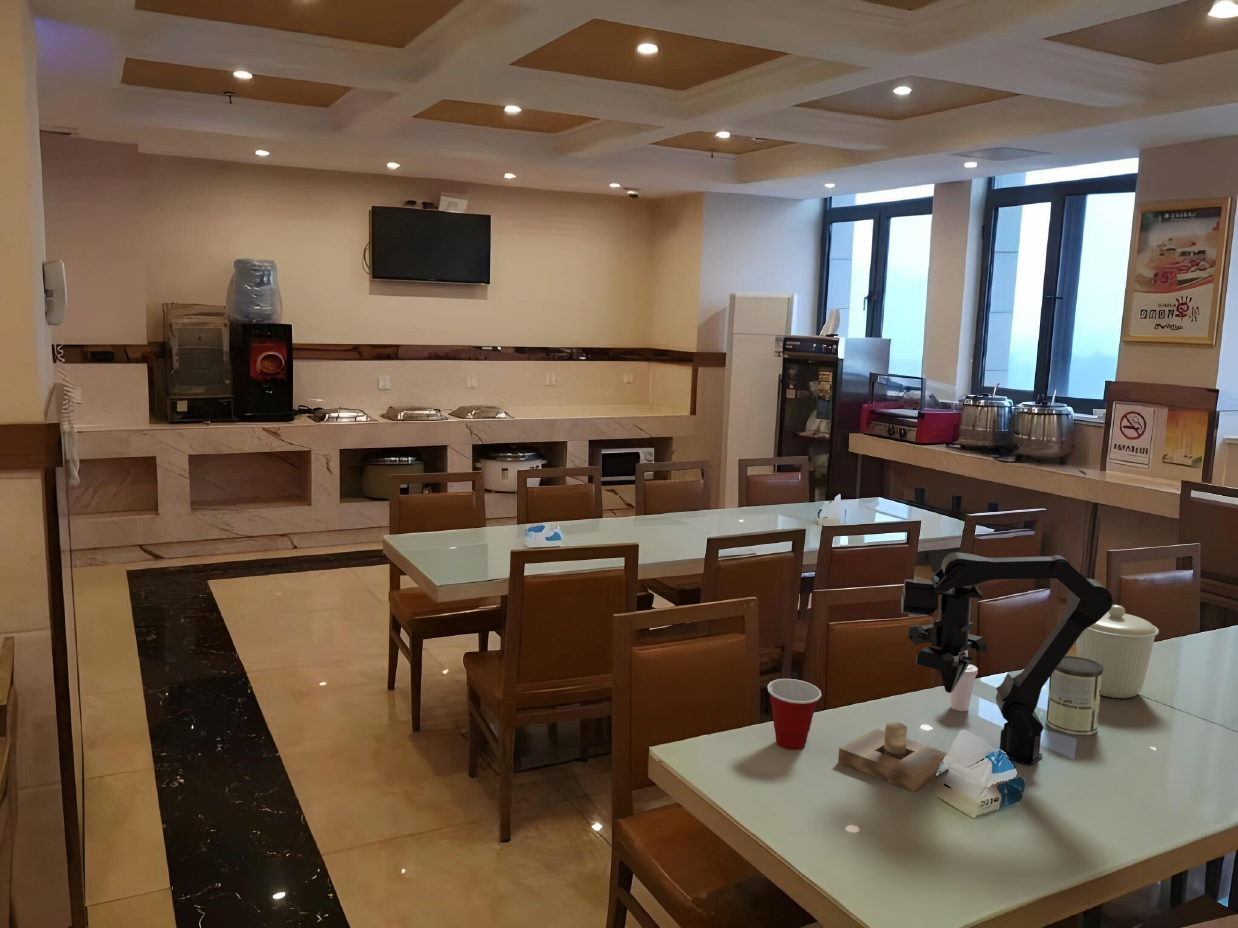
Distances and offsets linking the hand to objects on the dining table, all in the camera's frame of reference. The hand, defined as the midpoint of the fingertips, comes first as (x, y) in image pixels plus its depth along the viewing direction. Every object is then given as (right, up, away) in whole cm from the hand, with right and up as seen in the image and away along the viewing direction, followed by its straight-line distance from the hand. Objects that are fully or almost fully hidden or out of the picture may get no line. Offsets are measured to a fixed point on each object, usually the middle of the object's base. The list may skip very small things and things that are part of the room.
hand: (948, 691), depth 193 cm
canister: (+51, -9, +37) cm, 63 cm away
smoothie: (+10, -9, +23) cm, 27 cm away
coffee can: (+32, -11, +15) cm, 37 cm away
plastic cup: (-31, -11, +2) cm, 33 cm away
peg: (-13, -13, -7) cm, 19 cm away
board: (-13, -13, -7) cm, 19 cm away
